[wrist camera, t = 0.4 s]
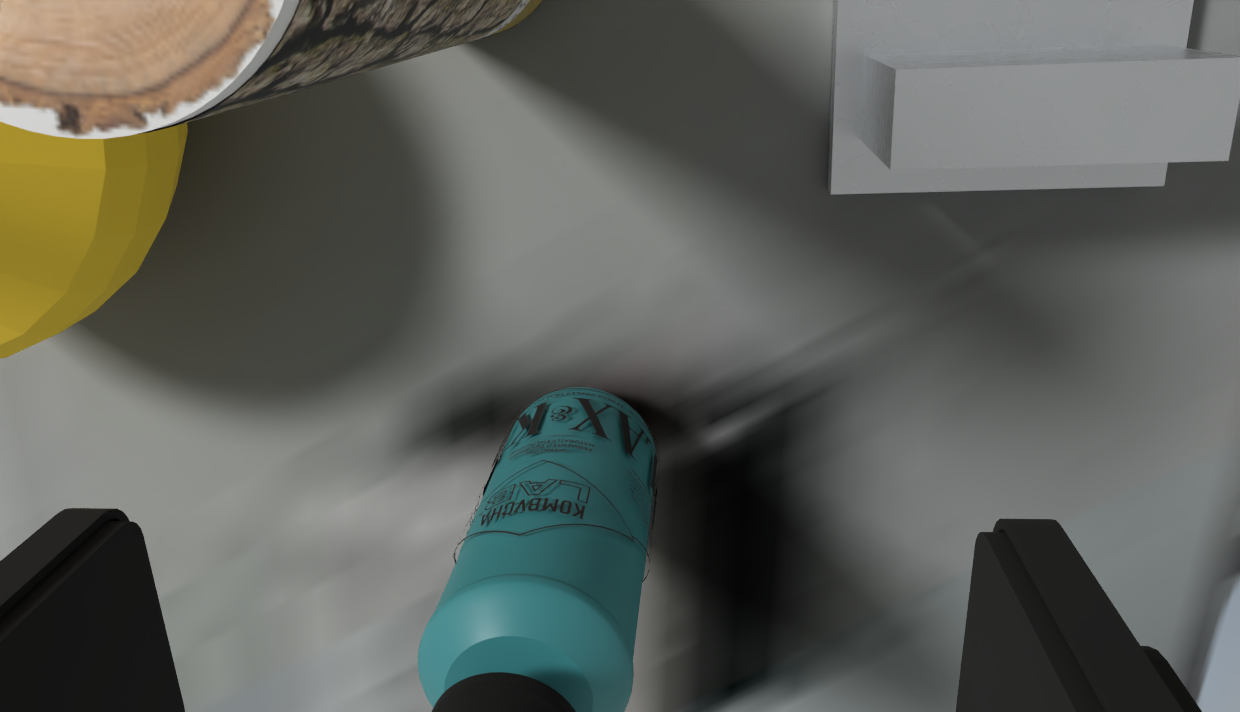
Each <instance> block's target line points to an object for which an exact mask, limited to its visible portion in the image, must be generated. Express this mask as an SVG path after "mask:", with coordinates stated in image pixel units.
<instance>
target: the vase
mask: <svg viewBox="0 0 1240 712" xmlns="http://www.w3.org/2000/svg"><path fill="white" fill-rule="evenodd" d="M187 134H188V126H187V123H184V124H180V125H177V126H173V127H169V128H165V129H161V130H157V131H153V132H149V133H140V134H134V135H130V136H123V137H114V138H106V139H77V138H67V137H57V136H51V135H46V134H42V133H37V132H32V131H28V130H25V129H22V128H18V127H15V126H12V125H9V124H6V123H3V122H0V358H6V357H8V356H10V355H12V354H15V353H17V352H19V351H21V350H23V349H25V348H28V347H30V346H32V345H34V344H36V343H38V342H41V341H43V340H45V339H47V338H49V337H51V336H54V335H56V334H58V333H60V332H62V331H64V330H65V329H67V328H69V327H70V326H72V325H74V324H75V323H77V322H78V321H80V320H82V319H83V318H85V317H87V316H88V315H90V314H92V313H93V312H95V311H96V310H97V309H98V308H99V307H100V306H101V305H103V304H104V303H105V302H106V301H107V300H108V299H109V298H110V297H111V296H112V295H113V294H114V293H115V292H116V291H117V290H118V289H120V288H121V287H122V286H123V285H124V284H125V283H126V282H127V281H128V280H129V279H130V278H131V277H132V276H133V275H134V274H136V273H137V271H138V269H139V268H140V266H141V264H142V262H143V260H144V258H145V256H146V255H147V253H148V251H149V249H150V247H151V245H152V244H153V242H154V240H155V238H156V236H157V234H158V232H159V231H160V229H161V227H162V225H163V223H164V221H165V220H166V217H167V214H168V211H169V208H170V205H171V202H172V199H173V196H174V193H175V190H176V187H177V183H178V178H179V173H180V168H181V163H182V159H183V154H184V149H185V144H186V139H187Z"/></svg>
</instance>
